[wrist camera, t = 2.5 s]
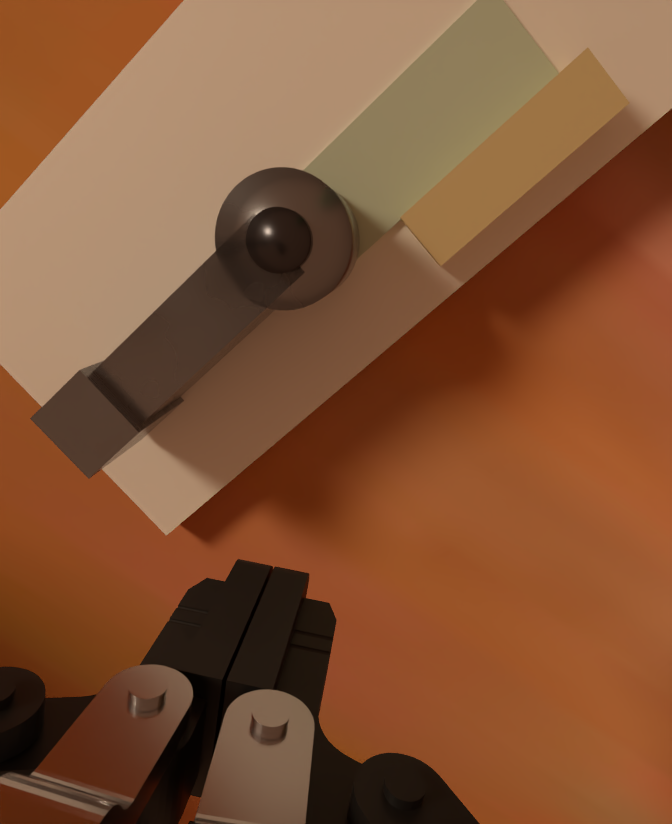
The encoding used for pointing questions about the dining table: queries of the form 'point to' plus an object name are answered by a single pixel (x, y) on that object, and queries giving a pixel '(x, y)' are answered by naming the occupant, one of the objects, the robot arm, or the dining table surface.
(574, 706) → the dining table surface
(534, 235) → the dining table surface
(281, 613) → the robot arm
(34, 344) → the lock board
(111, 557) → the dining table surface
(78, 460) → the latch bar
